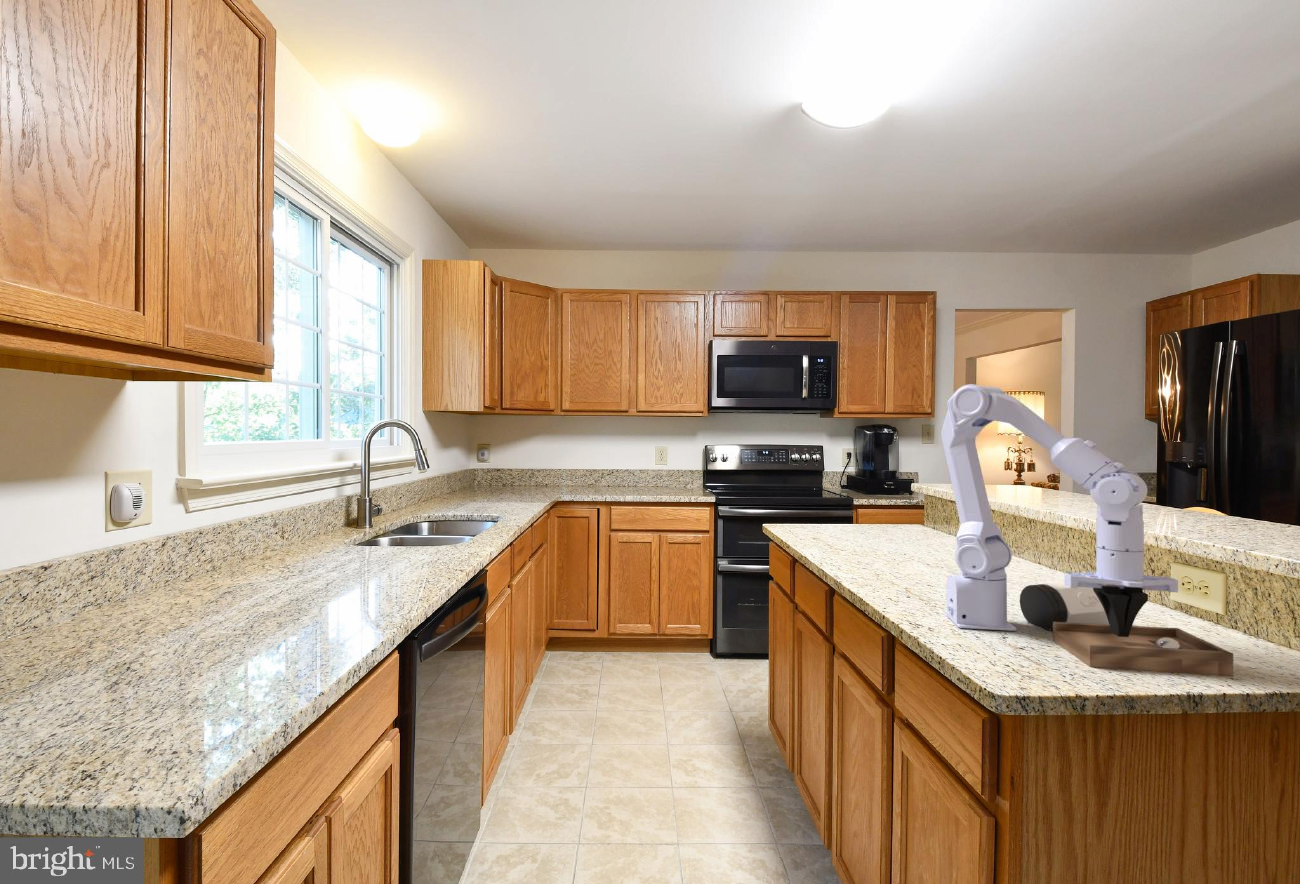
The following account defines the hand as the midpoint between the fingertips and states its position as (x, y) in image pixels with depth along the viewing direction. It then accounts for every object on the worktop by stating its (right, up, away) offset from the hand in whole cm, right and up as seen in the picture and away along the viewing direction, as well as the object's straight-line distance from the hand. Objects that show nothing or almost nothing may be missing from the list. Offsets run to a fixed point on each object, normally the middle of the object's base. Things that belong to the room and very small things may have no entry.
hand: (1119, 634), depth 87 cm
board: (+2, -3, -1) cm, 4 cm away
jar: (+8, +1, +15) cm, 17 cm away
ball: (+6, -2, -2) cm, 7 cm away
